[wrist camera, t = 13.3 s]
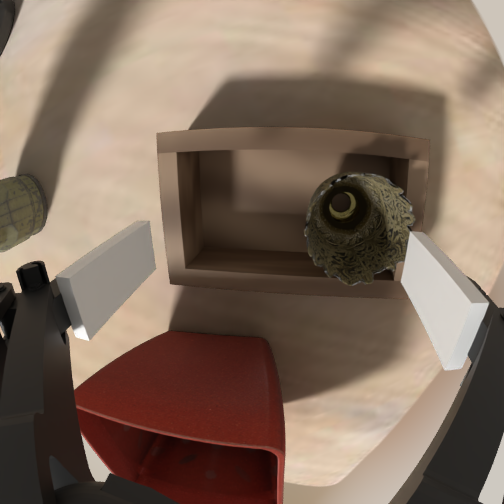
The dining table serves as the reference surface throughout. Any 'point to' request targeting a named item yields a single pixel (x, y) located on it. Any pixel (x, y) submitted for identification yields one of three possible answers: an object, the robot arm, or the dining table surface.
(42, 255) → the dining table surface
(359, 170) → the walnut box
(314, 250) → the olive textured bell shape
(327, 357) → the dining table surface
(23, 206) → the thermos
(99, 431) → the plant pot
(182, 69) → the dining table surface
